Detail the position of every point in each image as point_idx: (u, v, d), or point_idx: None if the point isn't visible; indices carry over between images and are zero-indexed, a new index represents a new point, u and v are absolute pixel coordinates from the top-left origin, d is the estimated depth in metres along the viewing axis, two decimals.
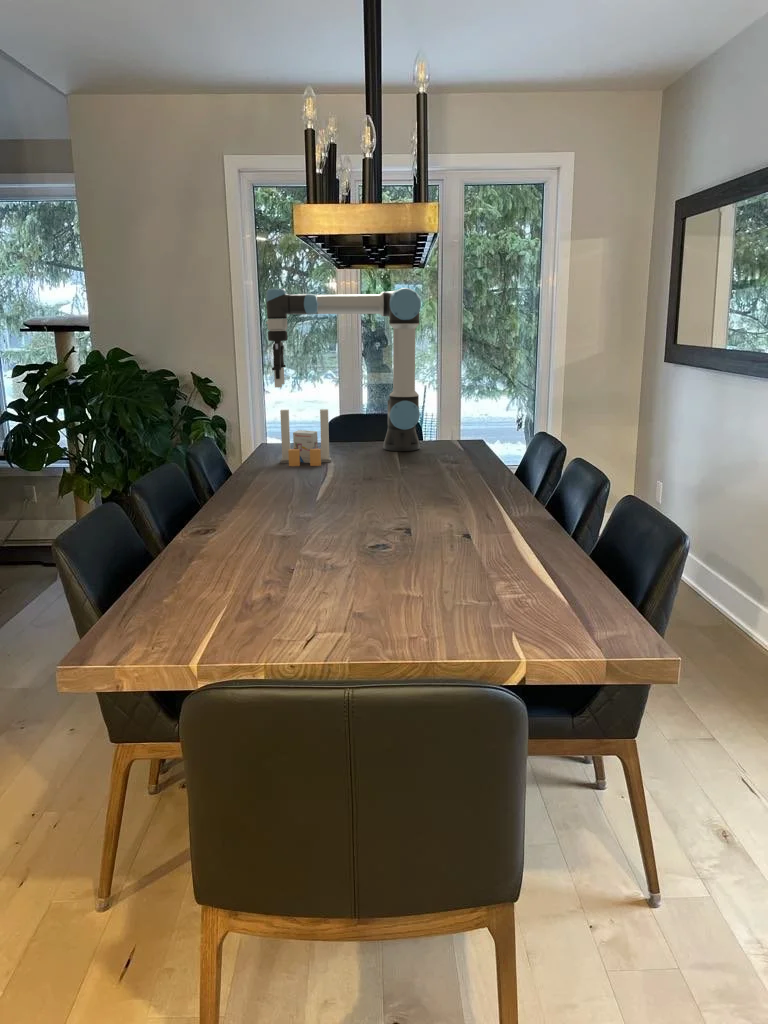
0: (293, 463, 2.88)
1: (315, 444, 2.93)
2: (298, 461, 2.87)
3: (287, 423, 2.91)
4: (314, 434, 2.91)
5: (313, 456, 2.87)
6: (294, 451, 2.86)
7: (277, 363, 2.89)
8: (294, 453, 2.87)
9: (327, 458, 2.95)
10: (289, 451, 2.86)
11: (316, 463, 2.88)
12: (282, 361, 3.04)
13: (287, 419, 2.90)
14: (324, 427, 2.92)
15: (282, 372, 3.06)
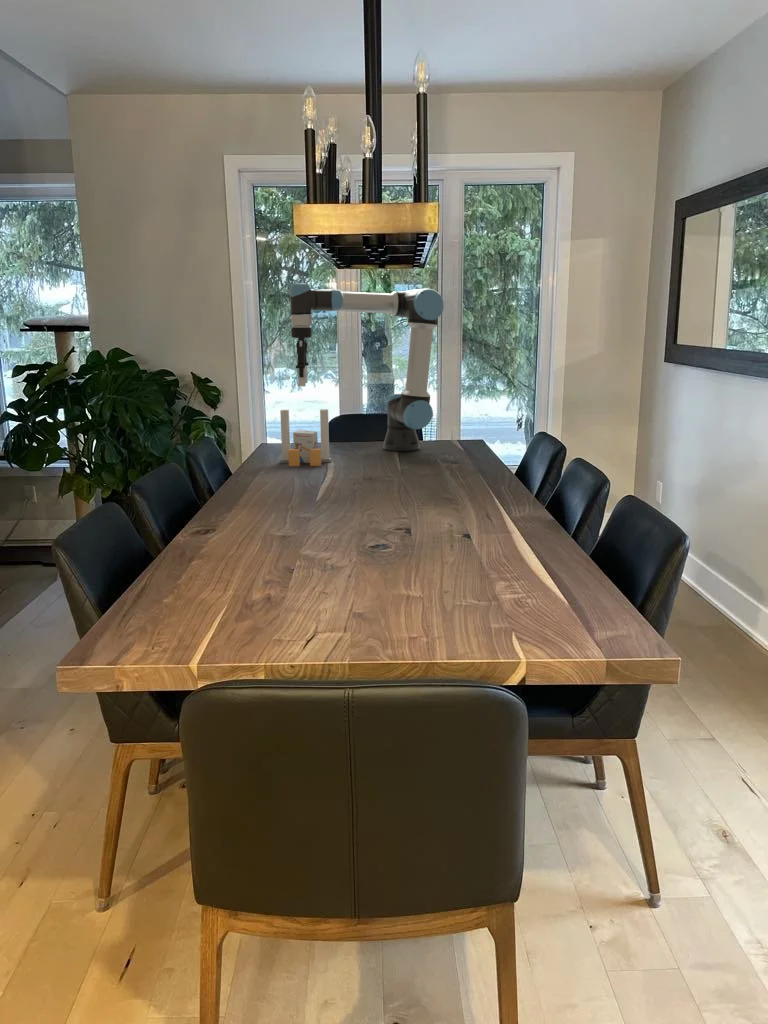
0: (293, 463, 2.88)
1: (315, 444, 2.93)
2: (298, 461, 2.87)
3: (287, 423, 2.91)
4: (314, 434, 2.91)
5: (313, 456, 2.87)
6: (294, 451, 2.86)
7: (301, 361, 2.77)
8: (294, 453, 2.87)
9: (327, 458, 2.95)
10: (289, 451, 2.86)
11: (316, 463, 2.88)
12: (305, 359, 2.92)
13: (287, 419, 2.90)
14: (324, 427, 2.92)
15: (305, 370, 2.94)
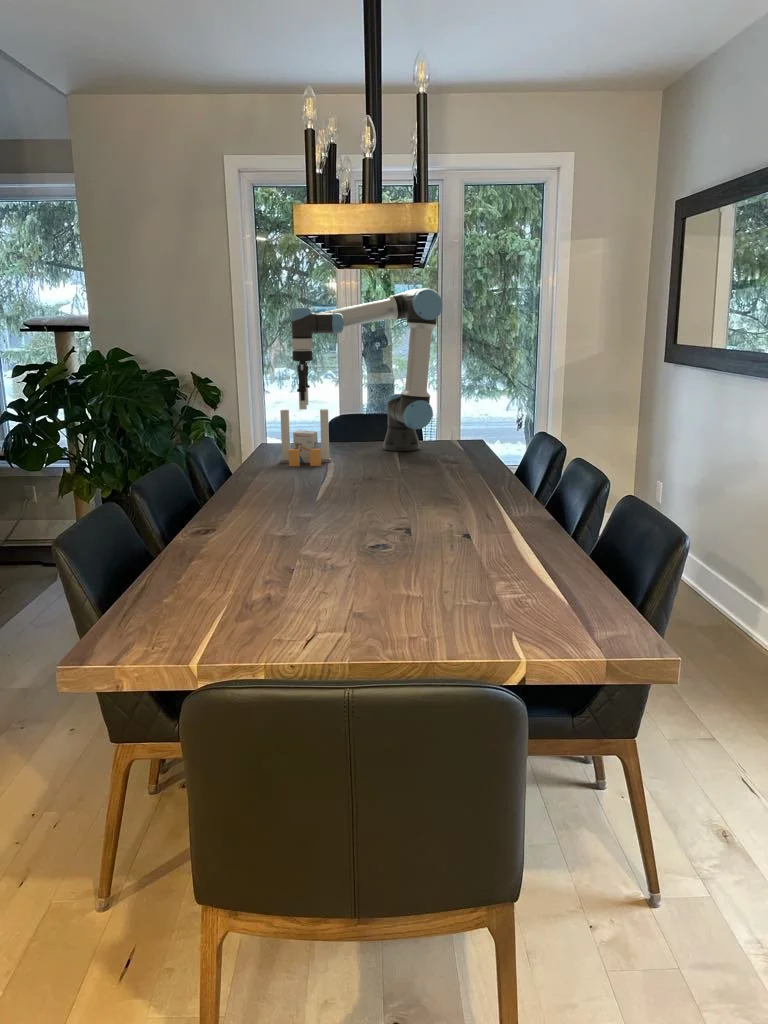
0: (293, 463, 2.88)
1: (315, 444, 2.93)
2: (298, 461, 2.87)
3: (287, 423, 2.91)
4: (314, 434, 2.91)
5: (313, 456, 2.87)
6: (294, 451, 2.86)
7: (302, 384, 2.79)
8: (294, 453, 2.87)
9: (327, 458, 2.95)
10: (289, 451, 2.86)
11: (316, 463, 2.88)
12: (306, 381, 2.94)
13: (287, 419, 2.90)
14: (324, 427, 2.92)
15: (306, 393, 2.96)
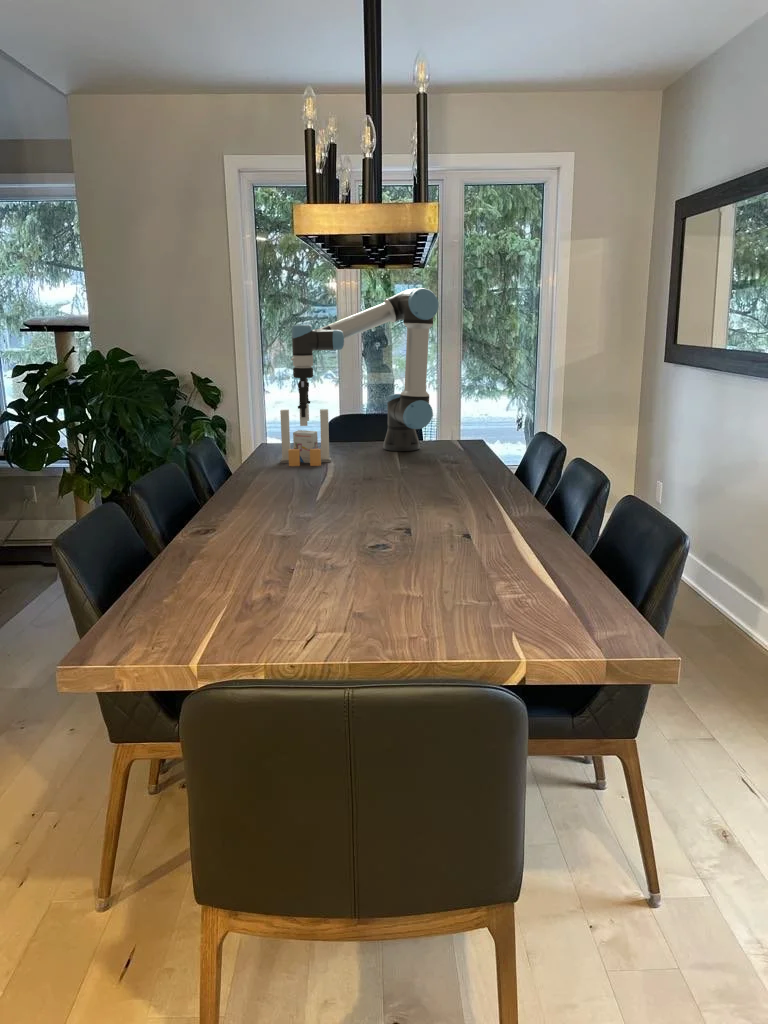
0: (293, 463, 2.88)
1: (315, 444, 2.93)
2: (298, 461, 2.87)
3: (287, 423, 2.91)
4: (314, 434, 2.91)
5: (313, 456, 2.87)
6: (294, 451, 2.86)
7: (303, 401, 2.81)
8: (294, 453, 2.87)
9: (327, 458, 2.95)
10: (289, 451, 2.86)
11: (316, 463, 2.88)
12: (307, 397, 2.95)
13: (287, 419, 2.90)
14: (324, 427, 2.92)
15: (307, 409, 2.97)
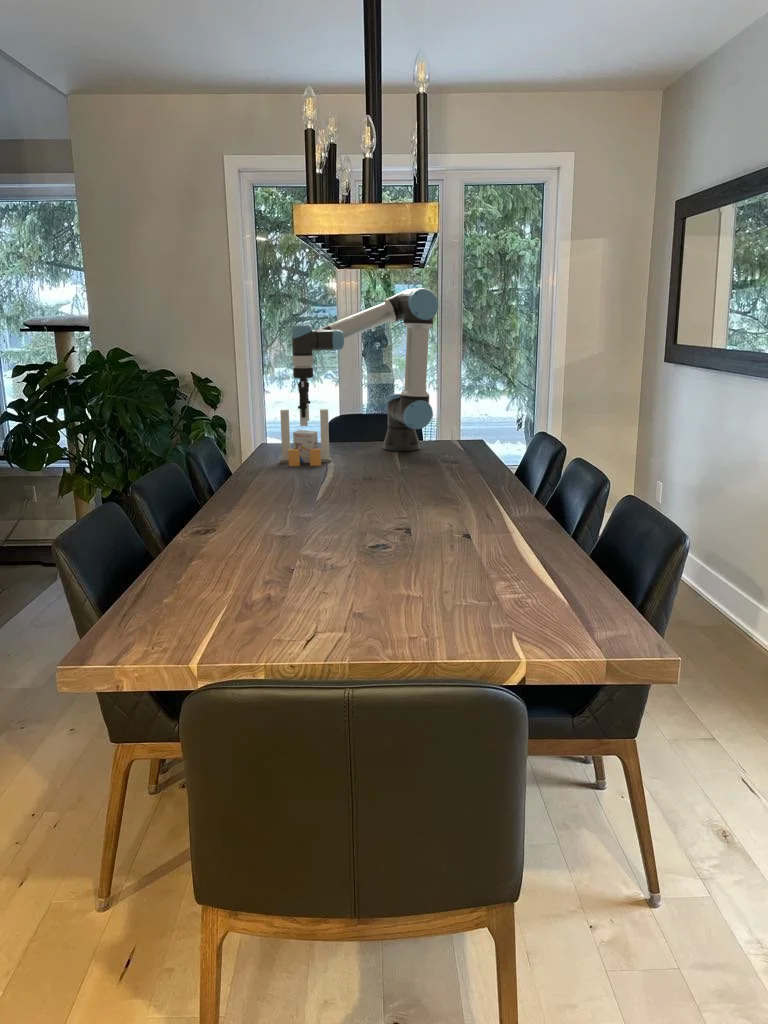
0: (293, 463, 2.88)
1: (315, 444, 2.93)
2: (298, 461, 2.87)
3: (287, 423, 2.91)
4: (314, 434, 2.91)
5: (313, 456, 2.87)
6: (294, 451, 2.86)
7: (303, 402, 2.81)
8: (294, 453, 2.87)
9: (327, 458, 2.95)
10: (289, 451, 2.86)
11: (316, 463, 2.88)
12: (307, 398, 2.95)
13: (287, 419, 2.90)
14: (324, 427, 2.92)
15: (307, 409, 2.98)
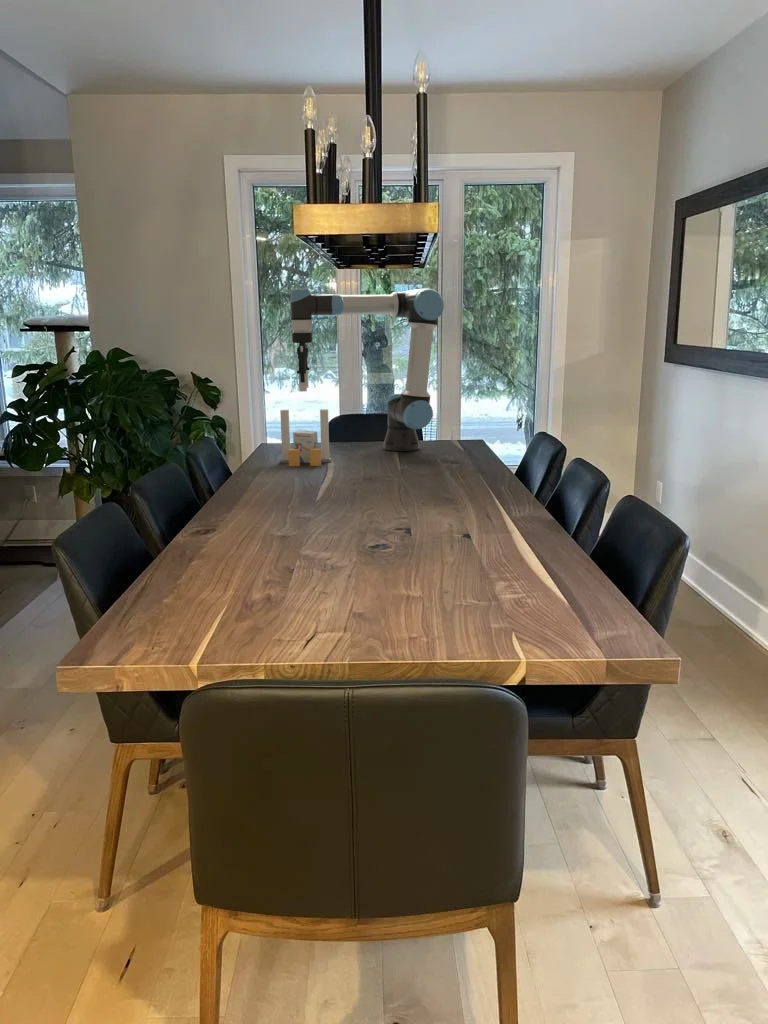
0: (293, 463, 2.88)
1: (315, 444, 2.93)
2: (298, 461, 2.87)
3: (287, 423, 2.91)
4: (314, 434, 2.91)
5: (313, 456, 2.87)
6: (294, 451, 2.86)
7: (302, 366, 2.78)
8: (294, 453, 2.87)
9: (327, 458, 2.95)
10: (289, 451, 2.86)
11: (316, 463, 2.88)
12: (306, 364, 2.92)
13: (287, 419, 2.90)
14: (324, 427, 2.92)
15: (306, 375, 2.94)
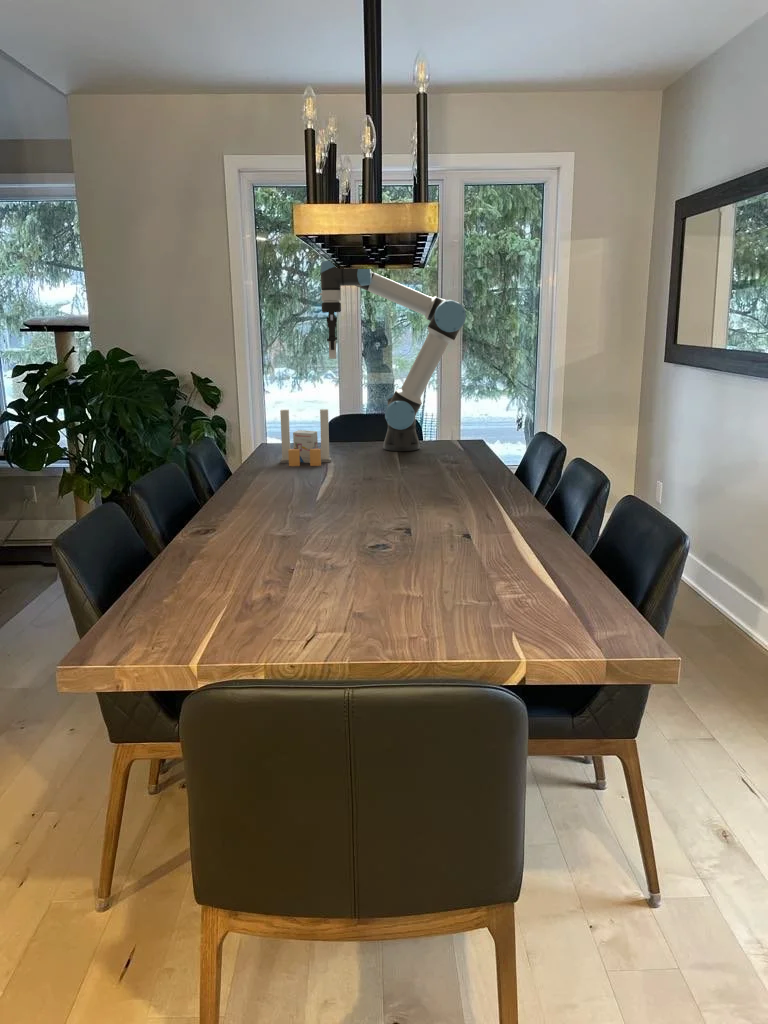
0: (293, 463, 2.88)
1: (315, 444, 2.93)
2: (298, 461, 2.87)
3: (287, 423, 2.91)
4: (314, 434, 2.91)
5: (313, 456, 2.87)
6: (294, 451, 2.86)
7: (332, 334, 2.91)
8: (294, 453, 2.87)
9: (327, 458, 2.95)
10: (289, 451, 2.86)
11: (316, 463, 2.88)
12: None
13: (287, 419, 2.90)
14: (324, 427, 2.92)
15: None
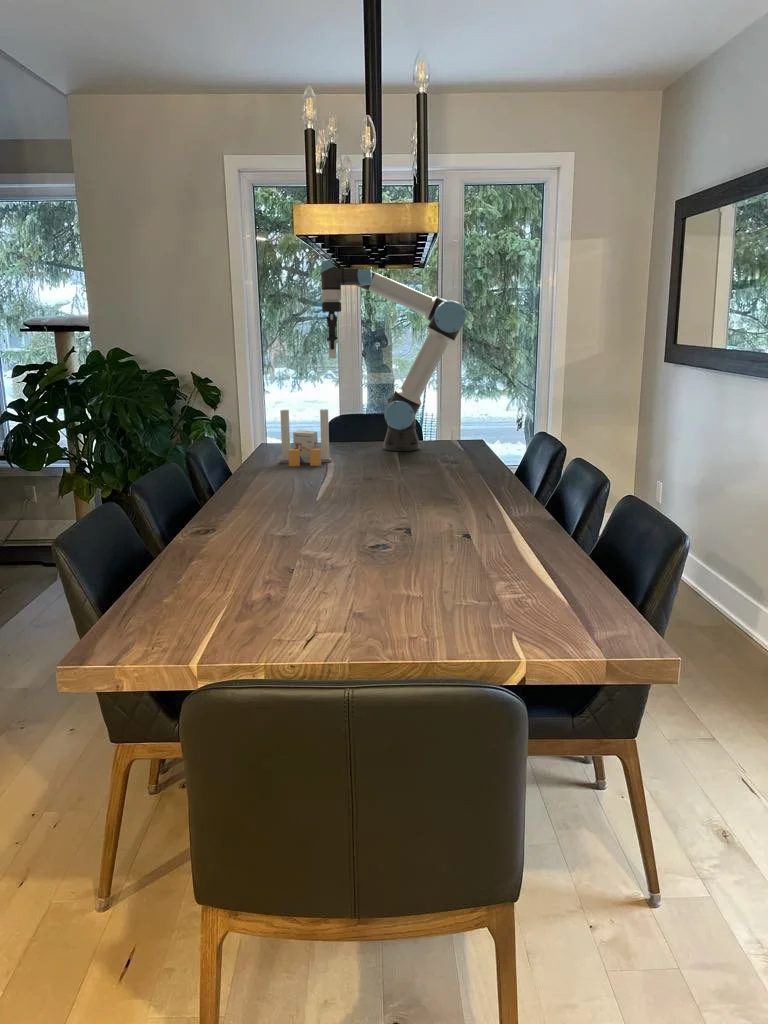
0: (293, 463, 2.88)
1: (315, 444, 2.93)
2: (298, 461, 2.87)
3: (287, 423, 2.91)
4: (314, 434, 2.91)
5: (313, 456, 2.87)
6: (294, 451, 2.86)
7: (332, 333, 2.91)
8: (294, 453, 2.87)
9: (327, 458, 2.95)
10: (289, 451, 2.86)
11: (316, 463, 2.88)
12: (334, 333, 3.05)
13: (287, 419, 2.90)
14: (324, 427, 2.92)
15: None
